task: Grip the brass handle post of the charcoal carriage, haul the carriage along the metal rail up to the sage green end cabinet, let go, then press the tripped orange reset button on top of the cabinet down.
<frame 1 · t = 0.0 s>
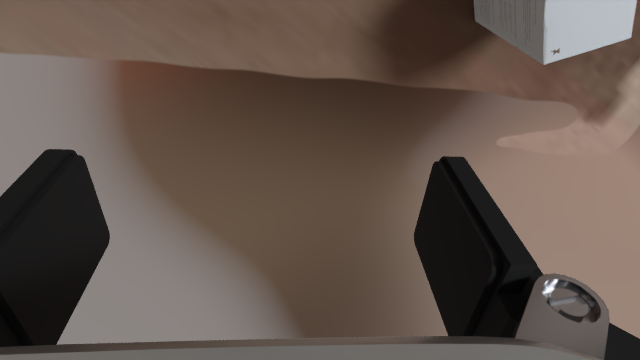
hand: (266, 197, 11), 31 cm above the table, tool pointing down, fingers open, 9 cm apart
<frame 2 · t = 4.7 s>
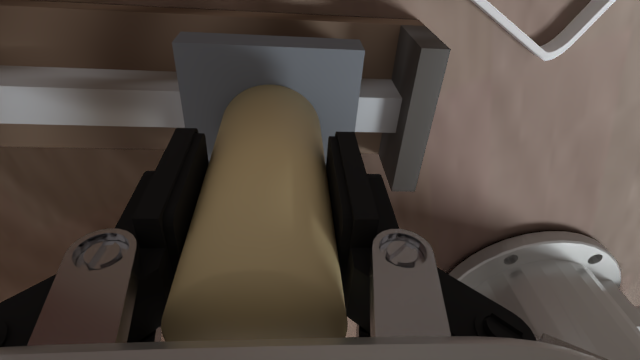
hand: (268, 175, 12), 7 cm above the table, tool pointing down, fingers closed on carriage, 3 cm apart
rail base: (148, 78, 17), on the table
carriage: (268, 168, 12), point 7 cm above the table, slide at 0.0 cm, touching gripper
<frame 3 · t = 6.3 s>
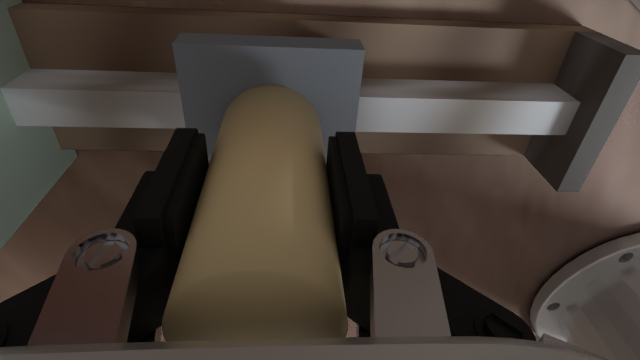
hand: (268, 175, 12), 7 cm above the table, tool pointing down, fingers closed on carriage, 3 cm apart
rail base: (315, 84, 18), on the table
carriage: (269, 169, 12), point 7 cm above the table, slide at 7.3 cm, touching gripper
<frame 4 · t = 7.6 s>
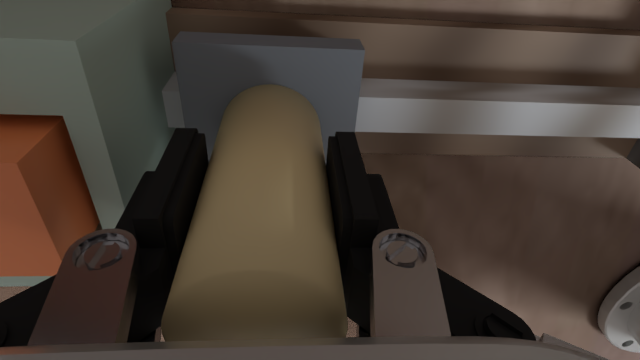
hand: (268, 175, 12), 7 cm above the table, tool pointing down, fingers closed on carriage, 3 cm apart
rail base: (435, 88, 18), on the table
reset button: (4, 185, 11), point 8 cm above the table, slide at 0.0 cm
gauge cabinet: (111, 77, 17), on the table
carriage: (268, 168, 12), point 7 cm above the table, slide at 13.0 cm, touching gripper
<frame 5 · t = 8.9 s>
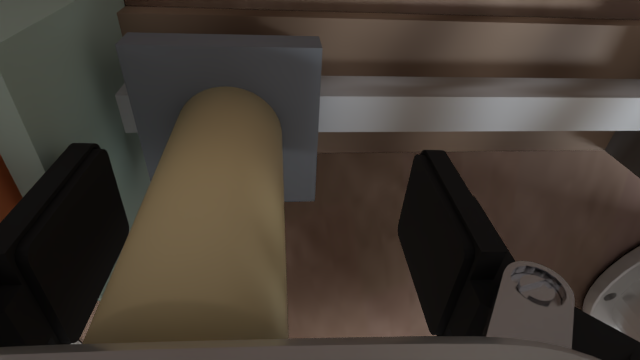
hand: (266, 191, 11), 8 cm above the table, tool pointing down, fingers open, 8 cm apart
rail base: (407, 84, 18), on the table
gauge cabinet: (67, 81, 16), on the table
carriage: (223, 176, 11), point 7 cm above the table, slide at 13.0 cm
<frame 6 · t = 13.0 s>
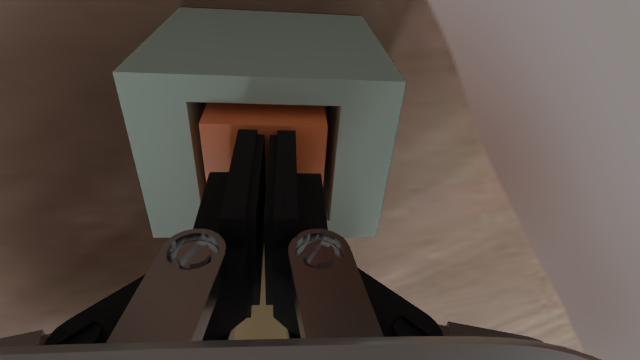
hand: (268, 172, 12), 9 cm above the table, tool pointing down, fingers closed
reset button: (267, 151, 13), point 7 cm above the table, slide at 1.0 cm, touching gripper
gauge cabinet: (273, 77, 19), on the table
carriage: (270, 286, 17), point 7 cm above the table, slide at 13.0 cm
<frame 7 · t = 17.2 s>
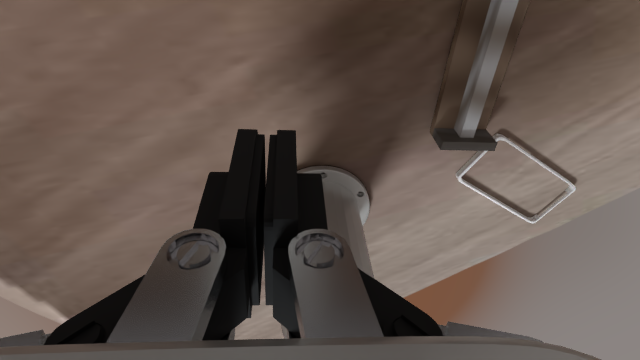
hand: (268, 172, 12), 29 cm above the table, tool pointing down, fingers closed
rail base: (485, 29, 39), on the table
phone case: (512, 177, 51), on the table
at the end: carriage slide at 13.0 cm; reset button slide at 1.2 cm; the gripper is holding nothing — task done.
